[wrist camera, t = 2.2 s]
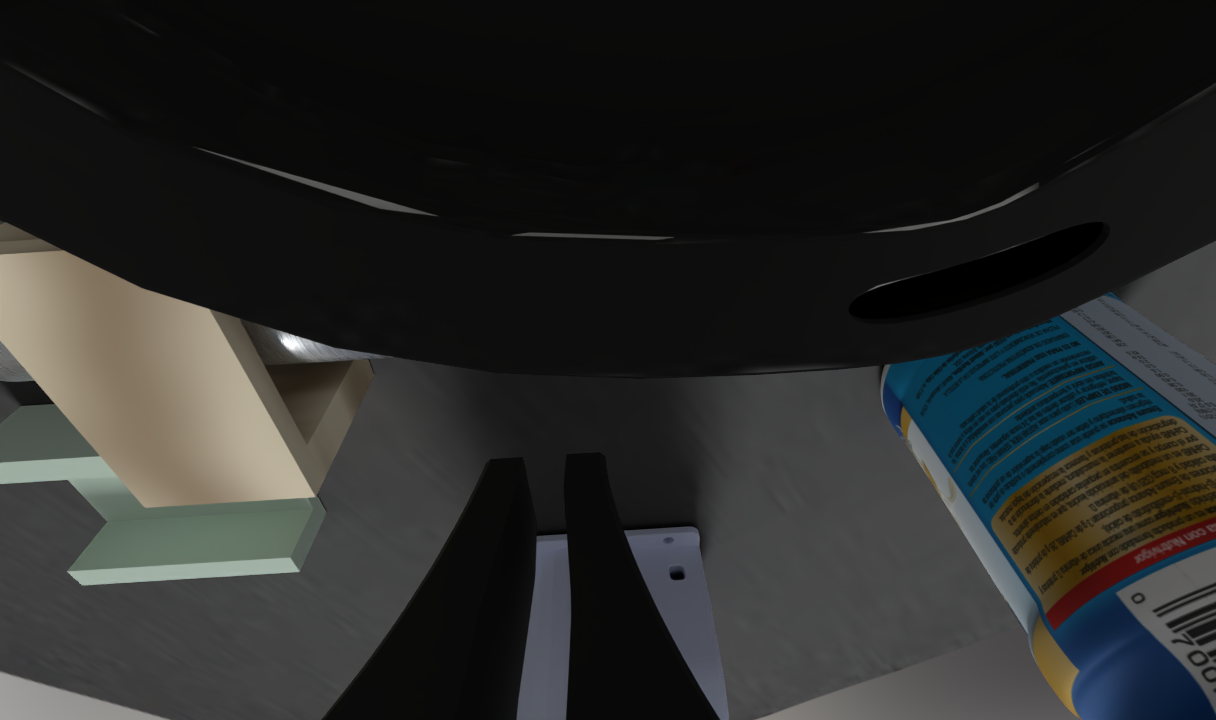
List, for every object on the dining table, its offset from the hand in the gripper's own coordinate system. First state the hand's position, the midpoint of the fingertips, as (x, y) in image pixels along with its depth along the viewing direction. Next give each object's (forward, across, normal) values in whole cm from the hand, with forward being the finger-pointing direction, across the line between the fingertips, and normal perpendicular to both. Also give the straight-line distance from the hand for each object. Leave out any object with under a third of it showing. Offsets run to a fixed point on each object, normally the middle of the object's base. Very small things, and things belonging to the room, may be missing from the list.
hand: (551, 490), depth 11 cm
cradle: (+9, +16, +8) cm, 21 cm away
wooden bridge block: (+9, +10, 0) cm, 14 cm away
